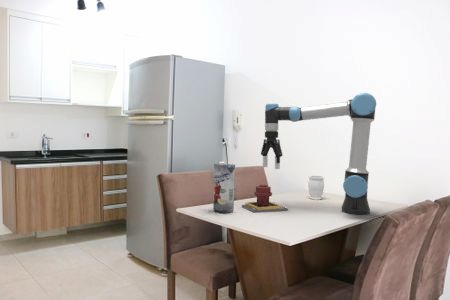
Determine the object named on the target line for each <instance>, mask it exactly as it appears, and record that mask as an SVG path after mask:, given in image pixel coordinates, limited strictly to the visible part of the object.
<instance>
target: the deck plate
mask: <svg viewBox="0 0 450 300" xmlns="http://www.w3.org/2000/svg"><path fill="white" fill-rule="evenodd" d="M241 208H243V209H245V210H247V211H250V212H251V213H272V212H288V211H289V209H288V207H286V206H282V205H280V204H277V203H276V202H272V201H269V205H268V206H266V207H260V206H258V204H257V201H247V202H245V203H244V204H241Z"/></svg>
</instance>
